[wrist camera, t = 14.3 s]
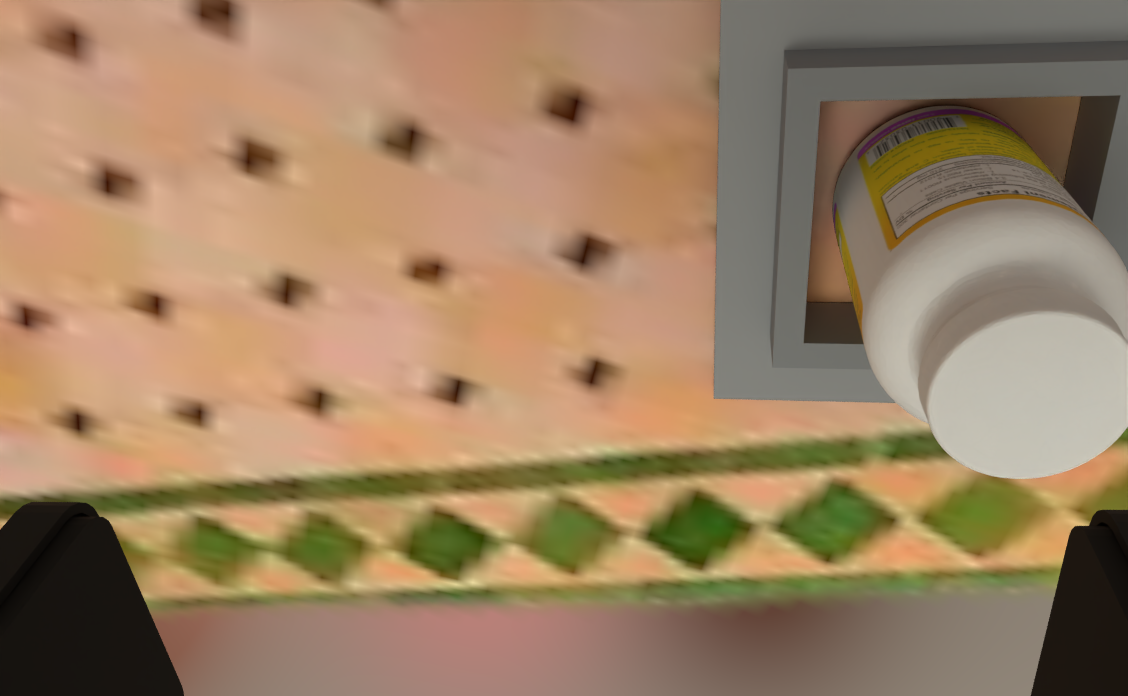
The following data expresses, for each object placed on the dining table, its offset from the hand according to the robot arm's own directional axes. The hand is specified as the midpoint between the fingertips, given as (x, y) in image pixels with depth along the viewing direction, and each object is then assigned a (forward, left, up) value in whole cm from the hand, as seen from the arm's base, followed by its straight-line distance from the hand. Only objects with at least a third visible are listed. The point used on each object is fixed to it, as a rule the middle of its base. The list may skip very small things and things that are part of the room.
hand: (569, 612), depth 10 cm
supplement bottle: (+6, +9, -26) cm, 28 cm away
